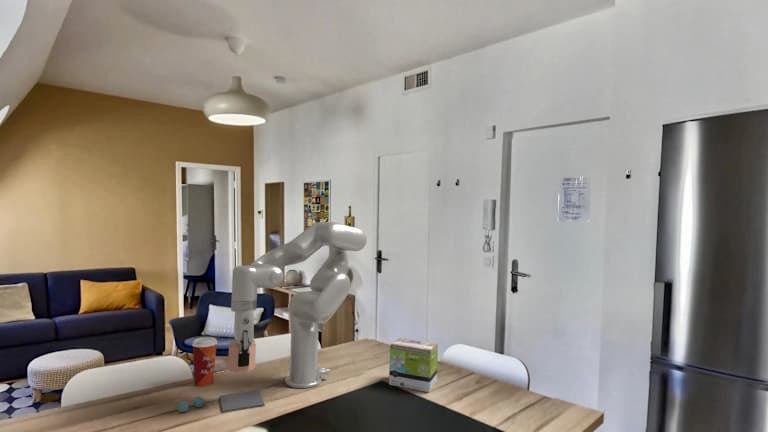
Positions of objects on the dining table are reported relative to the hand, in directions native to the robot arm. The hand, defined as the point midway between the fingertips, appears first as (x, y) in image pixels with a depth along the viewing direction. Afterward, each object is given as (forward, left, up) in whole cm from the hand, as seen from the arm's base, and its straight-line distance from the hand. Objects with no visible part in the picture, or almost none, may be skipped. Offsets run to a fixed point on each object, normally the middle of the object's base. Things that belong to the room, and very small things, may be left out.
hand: (241, 361), depth 132 cm
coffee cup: (+10, -21, -13) cm, 27 cm away
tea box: (-57, +8, -13) cm, 59 cm away
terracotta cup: (0, 0, -2) cm, 2 cm away
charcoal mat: (0, 0, -12) cm, 12 cm away
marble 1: (+17, 0, -11) cm, 20 cm away
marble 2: (+13, -2, -11) cm, 17 cm away
